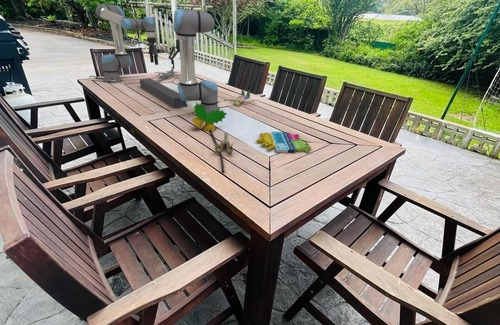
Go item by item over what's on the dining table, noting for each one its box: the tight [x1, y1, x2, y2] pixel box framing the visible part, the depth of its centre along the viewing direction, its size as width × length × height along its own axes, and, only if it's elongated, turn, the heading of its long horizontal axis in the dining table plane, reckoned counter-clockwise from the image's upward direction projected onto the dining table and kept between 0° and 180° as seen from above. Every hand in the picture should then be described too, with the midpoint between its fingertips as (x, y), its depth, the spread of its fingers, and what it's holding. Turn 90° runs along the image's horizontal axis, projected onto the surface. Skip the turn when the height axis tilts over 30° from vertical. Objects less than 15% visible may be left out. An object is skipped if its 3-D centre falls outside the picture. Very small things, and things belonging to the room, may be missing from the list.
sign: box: [256, 131, 312, 154], centre depth 152 cm, size 26×2×30 cm
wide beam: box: [139, 78, 188, 109], centre depth 219 cm, size 70×10×7 cm, turn 39°
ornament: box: [191, 101, 228, 132], centre depth 162 cm, size 21×8×15 cm, turn 105°
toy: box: [223, 89, 257, 106], centre depth 219 cm, size 28×7×30 cm
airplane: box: [154, 66, 181, 82], centre depth 278 cm, size 38×31×10 cm
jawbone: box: [214, 131, 234, 156], centre depth 136 cm, size 9×15×10 cm
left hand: (154, 63), depth 234 cm, fingers open, 13 cm apart
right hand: (182, 68), depth 209 cm, fingers open, 13 cm apart
